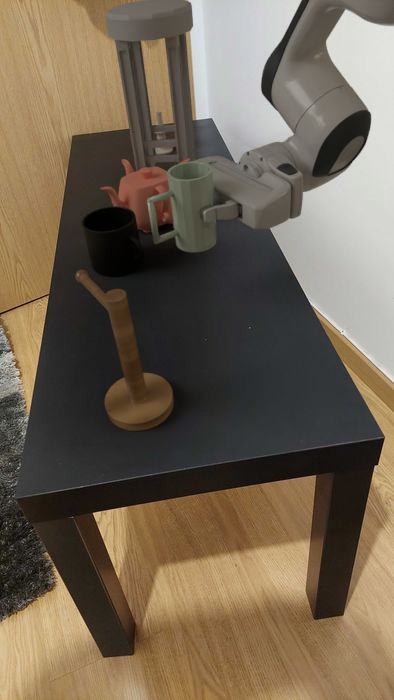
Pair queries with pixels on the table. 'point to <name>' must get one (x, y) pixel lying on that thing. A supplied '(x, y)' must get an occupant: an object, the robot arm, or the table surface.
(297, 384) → the table surface
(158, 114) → the candle
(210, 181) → the cup
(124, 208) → the mug
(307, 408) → the table surface
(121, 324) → the mug stand
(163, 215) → the teapot
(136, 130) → the stool
